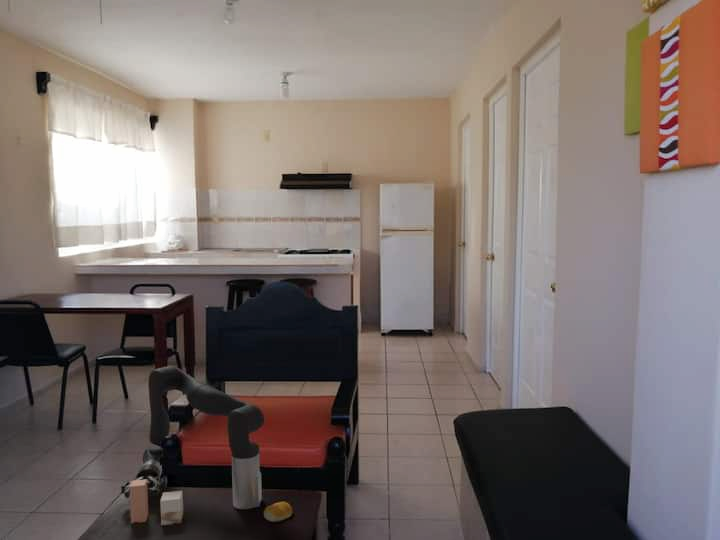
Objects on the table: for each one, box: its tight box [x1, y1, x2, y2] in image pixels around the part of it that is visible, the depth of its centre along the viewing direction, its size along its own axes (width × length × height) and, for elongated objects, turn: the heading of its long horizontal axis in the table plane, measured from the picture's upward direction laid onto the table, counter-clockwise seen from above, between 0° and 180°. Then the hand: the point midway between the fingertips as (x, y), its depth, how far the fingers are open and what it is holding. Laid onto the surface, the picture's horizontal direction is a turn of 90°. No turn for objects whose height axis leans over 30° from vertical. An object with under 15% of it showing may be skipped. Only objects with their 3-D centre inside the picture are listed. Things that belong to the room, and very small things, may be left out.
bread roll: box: [263, 501, 293, 523], centre depth 184 cm, size 8×9×4 cm
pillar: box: [129, 479, 149, 524], centre depth 183 cm, size 4×4×12 cm
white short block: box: [159, 490, 184, 514], centre depth 182 cm, size 6×6×4 cm
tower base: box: [160, 503, 184, 526], centre depth 182 cm, size 6×6×4 cm
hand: (140, 494), depth 185 cm, fingers open, 8 cm apart
